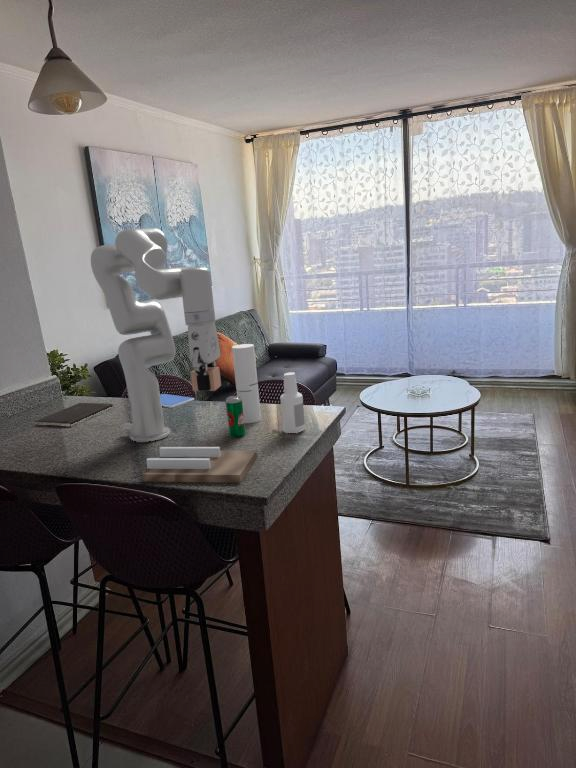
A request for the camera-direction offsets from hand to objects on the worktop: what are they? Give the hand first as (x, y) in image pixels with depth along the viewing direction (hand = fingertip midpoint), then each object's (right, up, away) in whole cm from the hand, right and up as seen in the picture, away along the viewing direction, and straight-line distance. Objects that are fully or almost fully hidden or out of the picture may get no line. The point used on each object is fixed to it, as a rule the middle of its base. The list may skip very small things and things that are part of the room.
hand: (208, 386), depth 143 cm
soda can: (+5, -15, +26) cm, 31 cm away
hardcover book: (-58, -12, +62) cm, 86 cm away
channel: (-7, -20, +2) cm, 21 cm away
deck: (-2, -22, +2) cm, 22 cm away
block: (0, 0, 0) cm, 1 cm away
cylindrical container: (+8, -11, +40) cm, 43 cm away
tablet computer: (-27, -7, +73) cm, 78 cm away
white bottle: (+23, -14, +26) cm, 37 cm away
